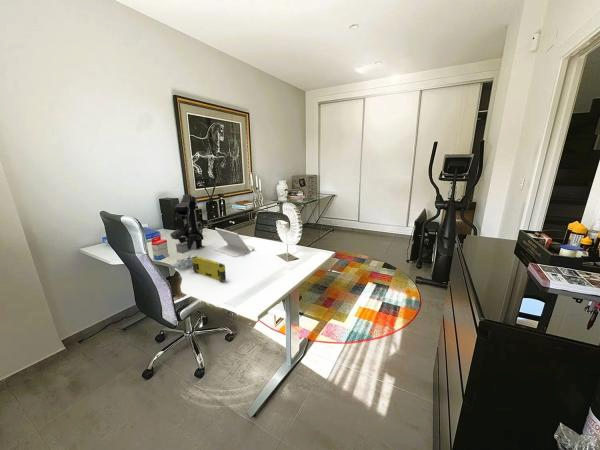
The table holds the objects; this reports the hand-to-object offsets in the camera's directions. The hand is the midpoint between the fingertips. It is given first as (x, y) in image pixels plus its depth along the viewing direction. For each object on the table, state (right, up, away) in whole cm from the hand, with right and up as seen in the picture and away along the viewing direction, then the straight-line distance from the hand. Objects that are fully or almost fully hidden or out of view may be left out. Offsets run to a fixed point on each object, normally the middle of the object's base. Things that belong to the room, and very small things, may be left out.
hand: (186, 248), depth 154 cm
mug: (-19, +2, +54) cm, 57 cm away
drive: (0, -1, 0) cm, 1 cm away
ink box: (-24, -8, +13) cm, 28 cm away
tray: (0, -10, +3) cm, 10 cm away
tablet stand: (+23, -4, +28) cm, 36 cm away
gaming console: (+20, -15, -15) cm, 29 cm away
